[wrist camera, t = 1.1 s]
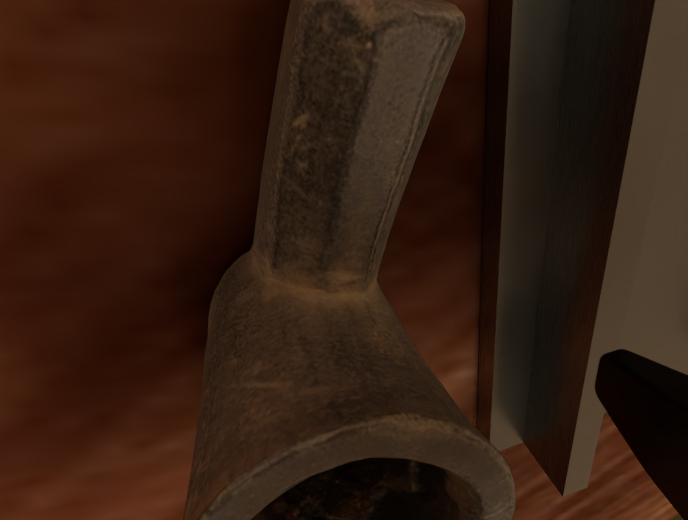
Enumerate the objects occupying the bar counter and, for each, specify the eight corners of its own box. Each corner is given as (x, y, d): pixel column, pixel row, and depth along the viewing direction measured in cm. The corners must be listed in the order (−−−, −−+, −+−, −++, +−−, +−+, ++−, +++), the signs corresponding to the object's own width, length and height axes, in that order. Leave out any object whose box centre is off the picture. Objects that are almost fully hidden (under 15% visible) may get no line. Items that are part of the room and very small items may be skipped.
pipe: (451, -4, 13) (765, 77, 6) (342, 400, 19) (446, 655, 12) (181, -66, 11) (237, -39, 4) (155, 413, 17) (160, 731, 10)
